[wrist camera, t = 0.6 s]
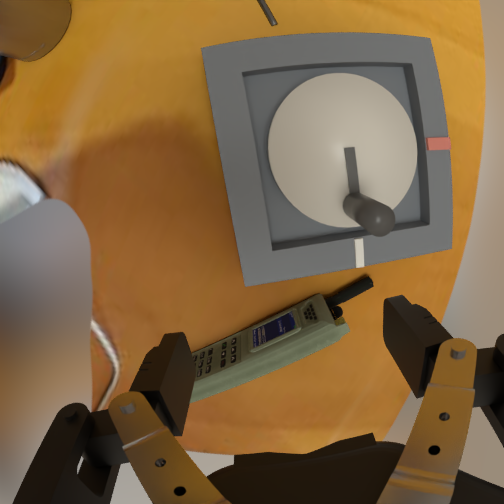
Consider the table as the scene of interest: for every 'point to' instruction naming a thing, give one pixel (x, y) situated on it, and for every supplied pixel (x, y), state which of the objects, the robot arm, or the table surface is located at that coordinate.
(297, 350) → the handheld radio
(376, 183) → the dial
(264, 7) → the rod
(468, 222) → the table surface
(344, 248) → the panel
